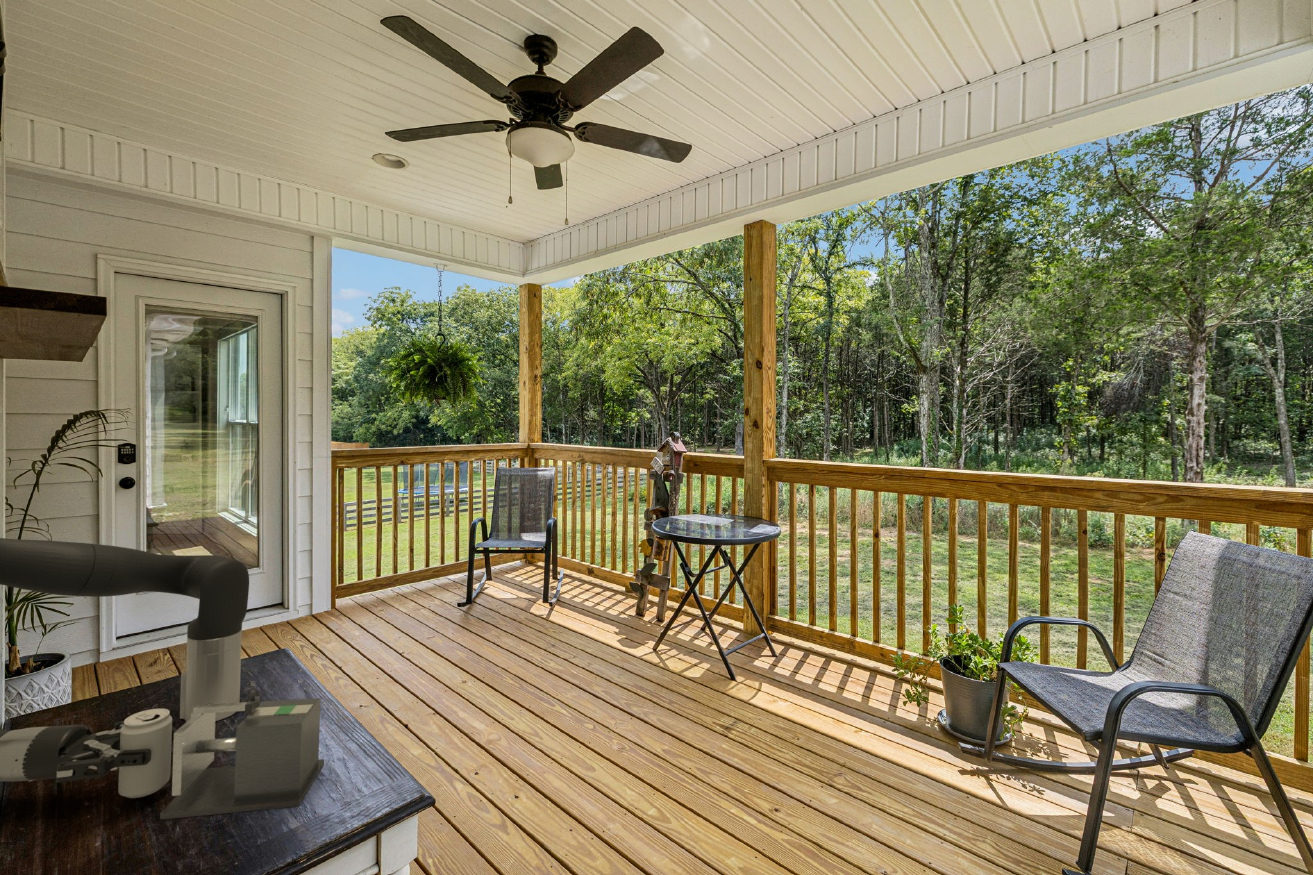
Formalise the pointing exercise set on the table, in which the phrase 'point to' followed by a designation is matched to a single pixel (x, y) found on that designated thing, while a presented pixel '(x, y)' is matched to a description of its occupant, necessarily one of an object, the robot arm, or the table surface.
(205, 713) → the paddle
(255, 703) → the peak needle
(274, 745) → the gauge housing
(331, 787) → the table surface
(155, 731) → the beverage can
